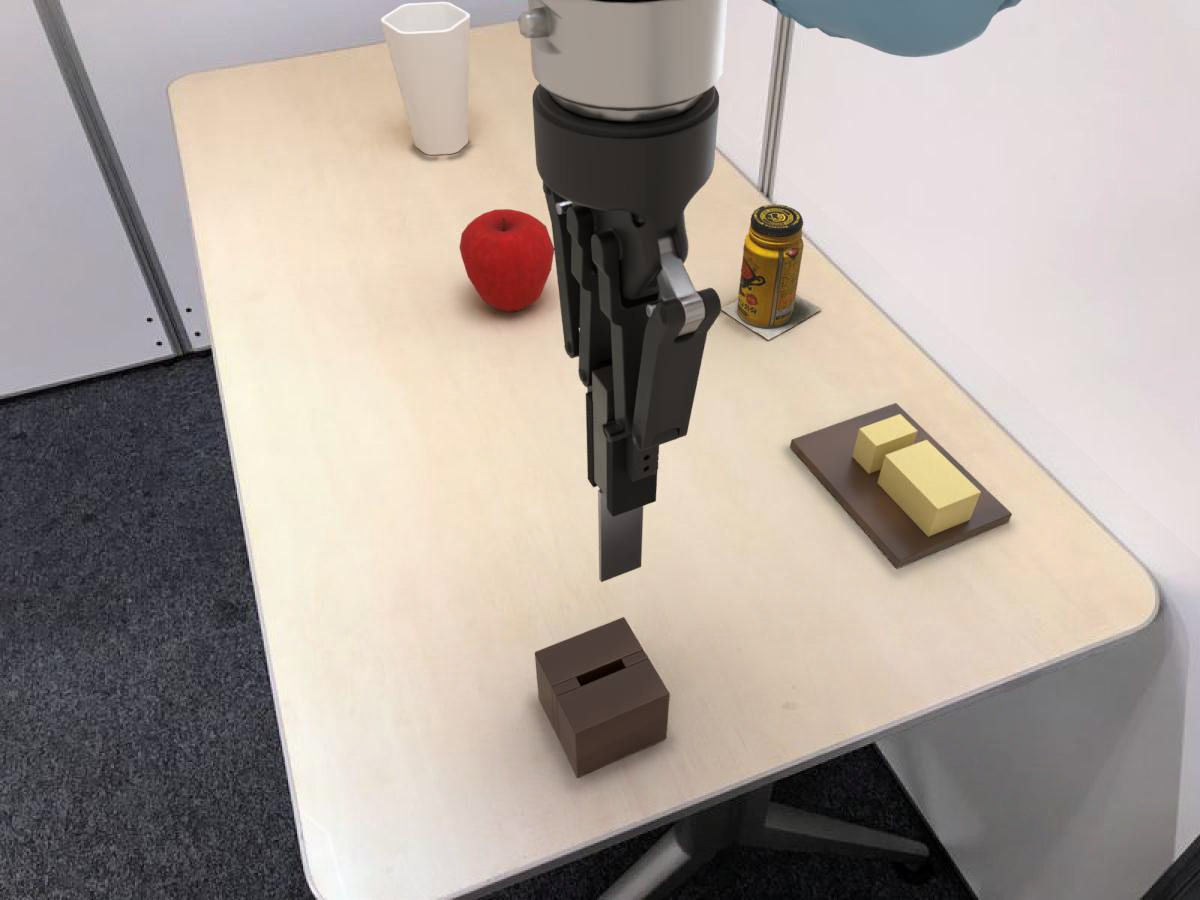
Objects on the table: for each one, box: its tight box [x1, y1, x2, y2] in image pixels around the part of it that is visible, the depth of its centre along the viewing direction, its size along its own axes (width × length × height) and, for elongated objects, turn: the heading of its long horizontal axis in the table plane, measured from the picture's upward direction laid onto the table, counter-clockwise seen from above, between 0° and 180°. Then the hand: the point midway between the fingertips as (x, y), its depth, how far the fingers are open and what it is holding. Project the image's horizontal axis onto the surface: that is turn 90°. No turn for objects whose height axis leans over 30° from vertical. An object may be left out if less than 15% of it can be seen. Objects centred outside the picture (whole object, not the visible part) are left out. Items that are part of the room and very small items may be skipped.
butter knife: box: [592, 365, 644, 583], centre depth 54 cm, size 2×3×16 cm, turn 116°
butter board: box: [789, 402, 1013, 568], centre depth 87 cm, size 16×12×1 cm
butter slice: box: [853, 414, 918, 474], centre depth 87 cm, size 2×4×4 cm, turn 115°
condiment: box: [721, 204, 823, 341], centre depth 102 cm, size 7×8×12 cm
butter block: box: [877, 440, 981, 537], centre depth 83 cm, size 7×4×4 cm, turn 25°
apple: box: [459, 208, 555, 313], centre depth 103 cm, size 10×10×11 cm
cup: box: [380, 1, 471, 156], centre depth 128 cm, size 11×10×17 cm
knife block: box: [534, 616, 671, 778], centre depth 68 cm, size 7×7×6 cm
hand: (621, 489), depth 55 cm, fingers closed on butter knife, 2 cm apart
